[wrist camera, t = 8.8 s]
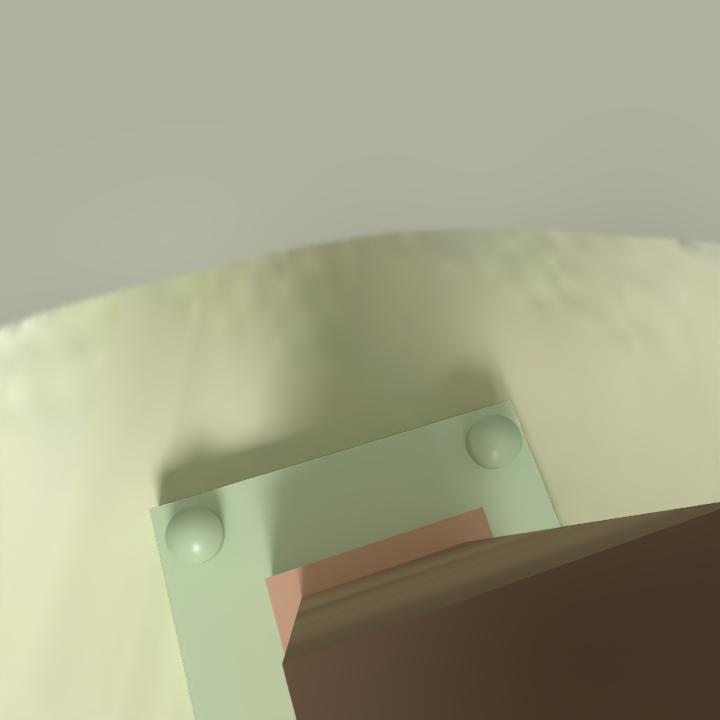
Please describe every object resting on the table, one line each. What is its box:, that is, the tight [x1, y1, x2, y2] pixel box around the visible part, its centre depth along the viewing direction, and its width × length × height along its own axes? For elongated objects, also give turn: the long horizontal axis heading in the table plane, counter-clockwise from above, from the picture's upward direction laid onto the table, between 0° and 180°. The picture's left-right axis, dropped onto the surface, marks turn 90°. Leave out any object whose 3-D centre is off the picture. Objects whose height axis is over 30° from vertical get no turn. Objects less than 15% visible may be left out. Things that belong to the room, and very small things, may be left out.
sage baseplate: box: [150, 400, 561, 720], centre depth 19 cm, size 12×12×2 cm
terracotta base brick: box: [265, 507, 494, 654], centre depth 17 cm, size 6×6×3 cm
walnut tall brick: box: [282, 502, 720, 720], centre depth 10 cm, size 4×4×12 cm
